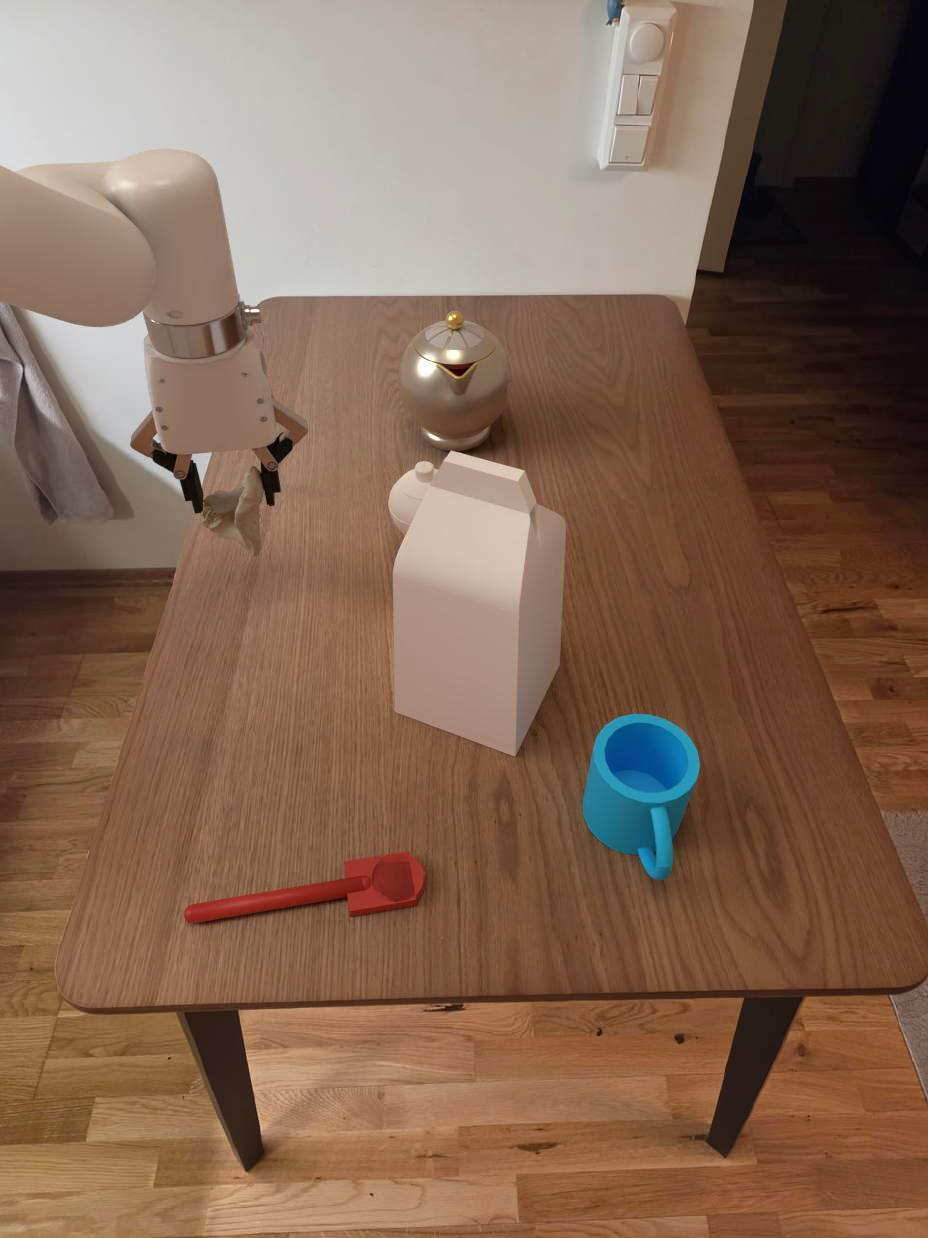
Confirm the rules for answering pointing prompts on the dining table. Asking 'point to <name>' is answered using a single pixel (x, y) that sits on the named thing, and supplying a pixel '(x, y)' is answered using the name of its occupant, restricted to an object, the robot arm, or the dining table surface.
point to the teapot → (455, 382)
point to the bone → (237, 512)
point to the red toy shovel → (333, 890)
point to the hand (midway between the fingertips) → (234, 499)
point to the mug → (640, 788)
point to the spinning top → (410, 494)
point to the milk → (478, 604)
